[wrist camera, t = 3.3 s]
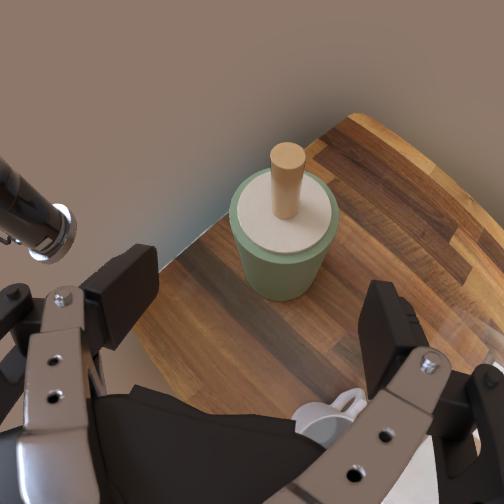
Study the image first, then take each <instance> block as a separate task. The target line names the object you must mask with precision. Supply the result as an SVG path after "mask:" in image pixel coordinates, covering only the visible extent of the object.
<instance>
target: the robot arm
mask: <svg viewBox="0 0 504 504" xmlns="http://www.w3.org/2000/svg"><path fill="white" fill-rule="evenodd" d="M65 224H66V222H65V216H64V214H63V213H62V212H61V211H60V210H59V209H58V208H56V207H55V206H54V205H52V204H51V203H50V202H49V201H48V200H47V199H46V198H45V197H44V196H42V195H41V194H40V193H39V192H38V191H37V190H36V189H34V187H32V186H31V185H30V184H29V183H28V182H27V181H26V180H25V179H24V178H23V177H22V176H21V175H20V174H19V173H17V172H16V171H15V170H14V169H13V168H12V167H11V166H10V165H9V164H8V163H7V162H6V161H5V160H4V159H3V158H2V157H1V156H0V229H1V230H2V231H3V232H5V233H6V234H7V235H9V236H8V237H7V240H5V239H3V238H1V237H0V242H1V243H3V244H5V245H8V244H10V243H11V240H12V241H14V242H16V243H17V244H19V245H21V244H23V245H25V246H26V247H28V248H30V249H32V250H33V251H35V252H36V253H38V254H46V253H49V252H50V251H52V250H53V249H54V248H55V247H56V246H57V245H58V243H59V242H60V240H61V238H62V236H63V234H64V230H65ZM157 259H158V258H157V250H156V248H155V247H154V246H149V245H143V244H135V245H134V246H132V247H131V248H130V249H129V250H127V251H126V252H125V253H124V254H121V255H119V256H117V257H114V258H112V259H111V260H110V261H108V262H107V263H106V264H105V265H104V266H102V267H101V268H100V269H99V270H98V272H95V273H94V274H93V275H91V276H90V277H89V278H88V279H87V280H86V281H84V283H82V284H81V285H80V286H79V287H76V286H63V287H59V288H57V289H54V290H53V291H51V292H50V293H49V294H48V295H47V296H46V298H45V299H44V298H32V295H31V292H30V288H29V286H28V285H26V284H22V283H17V284H13V285H10V286H7V287H6V288H4V289H3V290H1V291H0V340H1V339H2V338H3V337H4V336H5V335H6V334H7V333H8V332H9V331H10V333H11V335H12V338H13V340H14V342H15V344H16V345H15V346H14V347H13V348H12V349H11V351H10V352H9V353H8V354H7V355H6V356H5V357H4V359H3V360H2V361H1V362H0V425H1V423H2V422H3V420H4V419H5V417H6V416H7V414H8V413H9V412H10V410H11V409H12V407H13V406H14V404H15V403H16V402H17V400H18V399H19V397H20V396H21V395H22V393H23V392H24V401H23V425H22V426H19V427H16V428H13V429H10V430H7V431H4V432H1V433H0V504H380V503H381V502H382V501H383V499H384V498H385V497H386V495H387V494H388V493H389V491H390V490H391V489H392V487H393V486H394V484H395V483H396V481H397V480H398V478H399V477H400V475H401V474H402V472H403V471H404V469H405V468H406V466H407V465H408V463H409V461H410V460H411V458H412V457H413V455H414V453H415V452H416V450H417V448H418V446H419V445H420V443H421V441H422V439H423V438H424V436H425V434H428V435H432V441H433V448H434V455H435V463H436V472H437V481H438V493H439V504H504V374H503V373H502V372H501V371H500V370H499V369H497V368H496V367H494V366H492V365H489V364H480V365H478V366H477V367H476V368H475V370H474V371H473V373H472V374H471V375H468V374H464V373H461V372H457V371H454V370H451V369H452V367H451V363H450V361H449V360H448V358H447V357H446V356H445V355H444V354H443V353H442V352H440V351H439V350H437V349H435V348H432V347H430V346H429V343H428V341H427V339H426V336H425V334H424V332H423V329H422V327H421V325H420V324H419V320H418V318H417V317H416V314H415V311H414V309H413V307H412V305H411V304H410V303H409V302H408V301H407V300H405V299H404V298H403V297H399V296H398V294H397V291H396V289H395V287H394V285H393V283H392V282H386V281H379V280H372V281H371V283H370V285H369V288H368V291H367V295H366V298H365V301H364V304H363V307H362V310H361V313H360V317H359V322H358V334H359V340H360V346H361V352H362V358H363V364H364V371H365V377H366V384H367V392H368V400H372V401H371V402H370V403H369V404H368V405H367V407H366V408H365V409H364V410H363V411H362V413H361V414H360V415H359V416H358V417H357V418H356V419H355V421H354V422H353V423H352V424H351V425H350V426H349V427H348V428H347V429H346V430H345V432H344V433H343V434H342V435H341V436H340V437H339V438H338V439H337V440H336V441H335V442H334V443H333V444H332V445H331V446H330V447H329V448H328V449H326V448H324V447H323V446H322V445H320V444H319V443H317V442H316V441H314V440H312V439H311V438H309V437H306V436H304V435H302V434H299V433H296V432H295V427H296V420H289V419H282V418H274V417H268V416H261V415H255V414H246V415H213V414H207V413H204V412H202V411H200V410H198V409H196V408H194V407H192V406H190V405H188V404H186V403H184V402H182V401H180V400H178V399H177V398H175V397H173V396H171V395H168V394H164V393H161V392H157V391H154V390H151V389H148V388H145V387H142V386H139V385H134V387H133V388H132V390H131V392H130V393H129V394H111V395H107V391H106V386H105V380H104V374H103V368H102V361H101V355H100V352H99V350H100V349H101V348H102V347H105V348H108V349H111V350H114V351H115V350H116V348H117V347H118V346H119V344H120V343H121V342H122V340H123V339H124V338H125V336H126V335H127V334H128V332H129V331H130V330H131V329H132V327H133V326H134V325H135V323H136V322H137V321H138V319H139V318H140V317H141V316H142V314H143V313H144V312H145V310H146V309H147V308H148V307H149V305H150V304H151V303H152V301H153V300H154V299H155V298H156V296H157V293H158V290H159V273H158V260H157ZM476 428H477V429H478V433H479V437H480V441H481V451H480V454H479V456H477V451H476V447H475V442H474V438H473V434H472V433H473V432H474V430H475V429H476Z"/></svg>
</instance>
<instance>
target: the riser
mask: <svg viewBox="0 0 504 504" xmlns="http://www.w3.org/2000/svg"><path fill="white" fill-rule="evenodd" d="M270 171H271V168H269V169H265V170H262V171H259V172H257V173H256V174H254V175H252V176H250V177H249V178H247V179H246V180H245V181H244V182H243V183H242V184H241V185H240V186H239V188H238V189H237V190H236V192H235V194H234V196H233V198H232V201H231V204H230V210H229V219H230V225H231V228H232V232H233V235H234V239H235V242H236V245H237V249H238V252H239V256H240V259H241V262H242V266H243V269H244V272H245V276H246V279H247V281H248V283H249V285H250V286H251V288H252V289H253V290H254V291H255V292H256V293H257V294H259V295H260V296H262V297H264V298H266V299H269V300H272V301H289V300H292V299H295V298H297V297H299V296H301V295H302V294H303V293H305V292H306V291H307V290H308V288H309V287H310V286H311V284H312V282H313V280H314V278H315V276H316V274H317V272H318V270H319V268H320V266H321V264H322V262H323V260H324V258H325V256H326V253H327V251H328V249H329V247H330V245H331V243H332V241H333V239H334V236H335V234H336V232H337V228H338V224H339V210H338V205H337V202H336V199H335V197H334V195H333V193H332V192H331V190H330V189H329V188H328V187H327V185H326V184H325V183H324V182H323V181H321V180H320V179H319V178H318V177H316V176H315V175H313V174H311V173H309V172H307V171H304V174H306V175H307V176H309V177H311V178H313V179H314V180H315V181H317V182H318V183H319V184H320V185H321V186H322V188H323V189H324V190H325V192H326V193H327V195H328V197H329V200H330V203H331V208H332V216H331V222H330V225H329V228H328V230H327V232H326V234H325V235H324V237H323V238H322V239H321V240H320V241H319V242H318V243H317V244H316V245H315V246H313V247H312V248H310V249H308V250H306V251H303V252H300V253H296V254H289V255H282V254H275V253H271V252H268V251H265V250H263V249H261V248H259V247H258V246H256V245H255V244H253V243H252V242H251V241H250V240H249V239H248V238H247V237H246V235H245V234H244V232H243V231H242V229H241V226H240V223H239V220H238V214H237V207H238V201H239V198H240V196H241V193H242V192H243V190H244V188H245V187H246V186H247V185H248V184H249V183H250V182H251V181H252V180H253V179H255V178H256V177H258V176H260V175H261V174H264V173H266V172H270Z"/></svg>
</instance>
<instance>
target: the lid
mask: <svg viewBox="0 0 504 504" xmlns="http://www.w3.org/2000/svg"><path fill="white" fill-rule="evenodd" d="M305 160H306V154H305V152H304V150H303V149H302V148H301V147H300V146H299V145H297V144H294V143H290V142H285V143H280V144H278V145H276V146H275V147H274V148H273V149H272V151H271V154H270V163H271V171H270V172H266V173H264V174H261V175H260V176H258V177H256V178H255V179H253V180H252V181H251V182H250V183H249V184H248V185H247V186H246V187H245V188H244V190H243V192H242V193H241V196H240V198H239V201H238V207H237V214H238V220H239V223H240V226H241V229H242V231H243V232H244V234H245V235H246V237H247V238H248V239H249V240H250V241H251V242H252V243H253V244H255V245H256V246H258V247H259V248H261V249H263V250H265V251H268V252H271V253H275V254H282V255H289V254H296V253H300V252H303V251H306V250H308V249H310V248H312V247H313V246H315V245H316V244H317V243H318V242H319V241H320V240H321V239H322V238H323V237H324V235H325V234H326V232H327V230H328V228H329V225H330V222H331V216H332V208H331V203H330V200H329V197H328V195H327V193H326V192H325V190H324V189H323V188H322V186H321V185H320V184H319V183H318V182H317V181H315V180H314V179H313V178H311V177H309V176H307V175H306V174H304V168H305Z"/></svg>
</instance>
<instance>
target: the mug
mask: <svg viewBox="0 0 504 504" xmlns="http://www.w3.org/2000/svg"><path fill="white" fill-rule="evenodd" d="M354 397H355V400H354V402H353V404H352V405H351V406H350V407H349V408H348V409H347V410H346V411H345V412H341V409H342V408H343V407H344V406H345V405H346V403H347V402H349V401H350V400H351V399H352V398H354ZM366 405H367V402H366V395H365V392H364V390H363V389H361V388H354V389H351V390H348V391H346V392H343V393H341V394H340V395H339V396H338V397H337V399H336V400H335V401H334V402H333V403H332V404H331V405H327V404H325V403H322V402H310V403H307V404H304V405H302V406H301V407H300V408H298V409H297V410H296V411H295V413H294V414H293V416H292V418H291V420H296V427H295V432H296V433H299V434H302V435H304V436H306V437H309V438H311V439H312V440H314V441H316V442H317V443H319V444H320V445H322V446H323V447H324V448H326V449H328V448H329V447H330V446H331V445H332V444H333V443H334V442H335V441H336V440H337V439H338V438H339V437H340V436H341V435H342V434H343V433H344V432H345V430H346V429H347V428H348V427H349V426H350V425H351V424H352V423H353V422H354V421H355V418H356V416H357V414H358V413H359V412H361V411H362V410H363V409H364V408H365V406H366Z"/></svg>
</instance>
